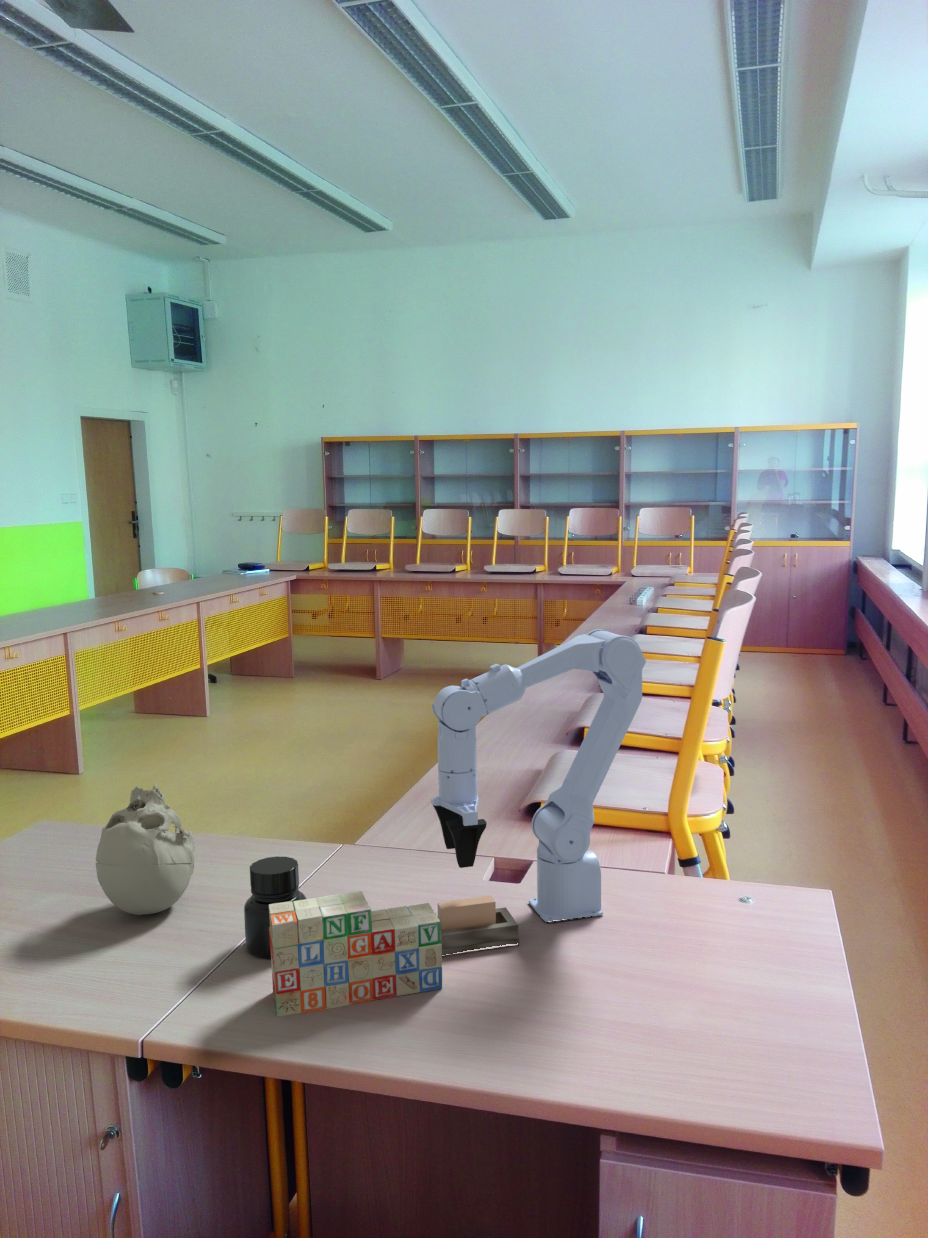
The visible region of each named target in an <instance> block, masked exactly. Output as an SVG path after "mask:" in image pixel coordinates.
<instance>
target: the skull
mask: <svg viewBox="0 0 928 1238" xmlns="http://www.w3.org/2000/svg"><path fill="white" fill-rule="evenodd" d="M165 798H166V796H165V794H164V793H163V792H162V791H161V790H160V788H158V785H157V784H154V785H153V786H152V789H150V790H149V789H147V790H146V789H143V788H142V787H140V786H138V785H136V786H135V787H134V788H133V789H132V790H131V791H130V798H129V804H128V806H127V807H125V808H121V809H118V810H116V811H115V812H114V813H113V814H112V815H111V817H110V818H109V820H108V822H107V824H106V825H105V826H104V827H102V830H101V834H100V835H101V836H100V838H99V843H98V846H97V849H96V854H95V855H96V856H95V870H96V877H97V881H98V883H99V885H100V887H101V889H102V891H103V893H104V895H105V896H106V897H107V899H108V900H109V901H110V902H111V903H112V904H113V905H114V906H115V907H116V908H118V909H119V910H121V911H123V912H125V913H128V914H133V915H135V916H142V915H154V914H158V913H161V912H163V911H166V910H167V909H169V908H171V907H172V906H174V904H176V903H177V902H178V901H179V900H180V899H181V897H182V896H183V895H184V893H185V891H186V890H187V888H188V886H189V884H190V881H191V878H192V874H194V873H193V872H194V869H195V838H194V836H193V833H192V831H191V830H187V831H185V830H184V828H183V826H182V822H181V818H180V816H179V815H178V814H177V812H176V811H175V810H173V809H171V807H170V804H165ZM171 824H173V825H174V826H173V828H175V830H174V832H172V831H169V829H170V827H171Z"/></svg>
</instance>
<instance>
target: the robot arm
mask: <svg viewBox="0 0 928 1238" xmlns="http://www.w3.org/2000/svg"><path fill="white" fill-rule="evenodd" d="M646 663H647V660H646V658H645V656H644V654H643V651H642V649H641V648H640V645H639V643H638V642H637V641H636V640H635V639H634V638H632V637H630V636H629V635H628V636H627V635H622V634H621V635H620V634H616V633H614V632H610V631H608V630H607V629H601V628H596V629H593V630H591V631H589V632H588V633H587V634H586V633H585V634H584V633H583V634H580V635H577V636H575V637H573V638H572V639H570V640H568V641H567V642H565V643H562V644H561V645H559V646H557V647H555V648H553V649H551V650H549V651H547V652H545V653H543V654H541V655H539V656H537V657H535V658H533V659H531V660H529V661H527V662H525V663H524V664H521V665H520V666H517V667H514V666H511V665H509V664H507V663H505V664H503V665H500V664H498V663H494V664H492V665H490V666H489V669H490V670H489V671H487V672H484V673H483V674H480V675H478V676H476V677H474V678H471V679H468V678H464V679H462V680H460V684H461V686H458V685H448V686H445V687H443V688H442V689H441V690H440V691H439V692H438V694H436V695H435V698H434V701H433V703H432V705H431V708H432V712H433V714H434V715H435V717H436V718H437V719H438V721H437V768H438V769H437V770H438V771H437V773H438V776H437V777H438V795H437V796H434V797H431V798H430V802H431V803H430V804H432V807H433V809H434V810H435V812H436V815H437V818H438V820H439V824H440V828H441V830H442V831H441V833H442V836H443V837H442V838H443V841H444V846H445V848H446V849H447V850H452V849H453V850H454V852H455V858H456V863H457V865H458V867H459V868H461V869H463V868H464V869H465V868H471V867H474V865H475V860H476V858H477V857H476V856H477V852H478V851H477V850H478V847H479V843H480V840H481V837H482V835H483V833H484V831H485V830H486V828H487V824H488V823H487V821H486V820H485V819H484V818H480V819H479V816H478V815H479V813H478V812H479V811H478V807H479V803H480V802H479V801H480V799H479V798H480V796H479V795H478V765H477V763H478V762H477V761H478V759H477V758H478V756H477V754H478V752H477V751H478V750H477V736H476V734H477V733H476V726H477V725H478V723H479V722H480V720H481V718H482V717H486V716H487V715H490V714H492V713H494V712H496V711H498V710H501V709H504V708H505V707H507V706H510V705H512V704H514V703H516V702H518V701H520V700H521V699H522V698H523V697H524V694H525V693H526V690H527V689H528V688H530V687H532V686H534V685H536V684H539V683H542V682H544V681H547V680H550V679H552V678H554V677H557V676H559V675H562V674H566V673H568V672H569V671H572V670H581V671H588V672H592V673H593V675H594V676H595V677H596V679H597V681H598V685H599V686H600V689H601V691H602V694H603V698H602V700H601V701H600V704H599V707H598V709H597V710H596V713H595V715H594V717H593V719H592V721H591V724H590V725H589V728H588V729H587V731H586V734H585V736H584V738H583V740H582V741H581V745H580V747H579V749H578V750H577V752H576V754H575V757H574V759H573V761H572V762H571V764H570V765H571V766H570V767H569V770H567V771H568V772H567V773H566V776H565V778H564V780H563V782H562V785H561V786H560V787H559V788H557V789H556V790H554V791H552V792H551V793H550V794H549V795H548V798H547V799H546V801H545V802H544V804H542V805H541V806H540V807H539V808H538V809H537V810H536V812H535V813H534V814H533V817H532V819H531V829H532V833H533V835H534V836H535V837H536V839H538V846H537V849H536V881H537V882H536V886H537V889H536V891H537V892H536V893H537V895H536V896H537V897H533V898H529V899H528V903H529V905H530V906H531V907H532V908H533V910H534V911H535V912H536V914H537V915H538V916H539V915H540V916H539V917H540V918H541V919H543V920H544V921H545V922H544V921H543V920H542V921H543V922H544V923H546V922H548V921H553V920H562V919H570V920H574V919H573V918H578V919H582V917H585V918H590V917H591V916H592V917H598V915H599V916H603V915H604V911H603V910H602V869H601V865H600V860H599V857H598V856H597V855H596V853H595V851H593V850H589V847H590V843H591V831H592V827H593V825H594V823H595V814H594V805H593V804H594V802H595V799H596V797H597V795H598V793H599V791H600V789H601V787H602V785H603V784H604V780H605V779H606V777H607V774H608V772H609V770H610V768H611V766H612V763H613V762H614V760H615V757H616V755H617V753H618V751H619V749H620V747H621V745H622V743H623V740H624V739H625V736H626V734H627V733H628V731H629V728H630V726H631V724H632V722H633V719H634V718H635V716H636V714H637V711H638V709H639V707H640V705H641V702H642V699H643V669H644V667H645V664H646ZM602 914H603V915H602ZM579 917H580V918H579ZM592 917H591V918H592ZM571 918H572V919H571Z"/></svg>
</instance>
